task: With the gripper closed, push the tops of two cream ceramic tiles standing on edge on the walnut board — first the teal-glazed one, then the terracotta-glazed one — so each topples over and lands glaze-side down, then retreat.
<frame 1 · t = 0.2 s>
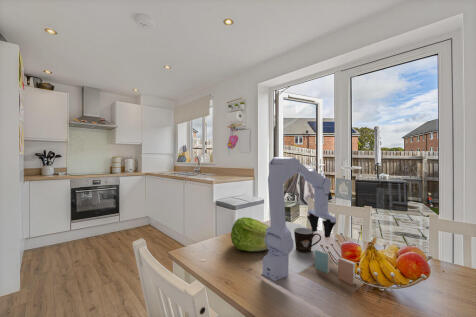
hand: (320, 234, 95), 10 cm above the table, fingers open, 7 cm apart
tile b: (346, 280, 75), point 1 cm above the table, touching board
lettuce: (256, 249, 104), on the table
tile a: (322, 270, 82), point 1 cm above the table, touching board
board: (334, 277, 79), on the table
coffee mug: (306, 253, 99), on the table
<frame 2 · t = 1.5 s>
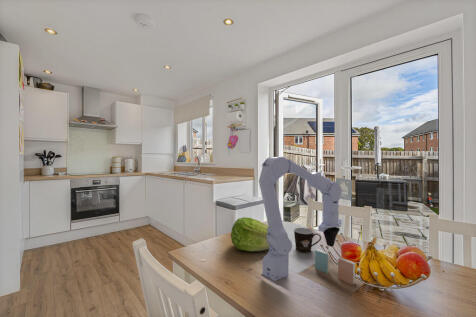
hand: (330, 245, 86), 9 cm above the table, fingers closed
nothing on the table moved.
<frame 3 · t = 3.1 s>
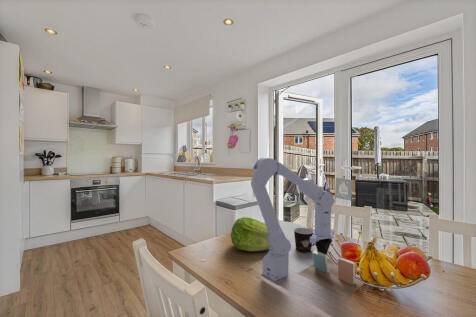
hand: (322, 257, 82), 6 cm above the table, fingers closed
tile a: (322, 269, 82), point 1 cm above the table, tilted 18°, touching board
everything else where it was.
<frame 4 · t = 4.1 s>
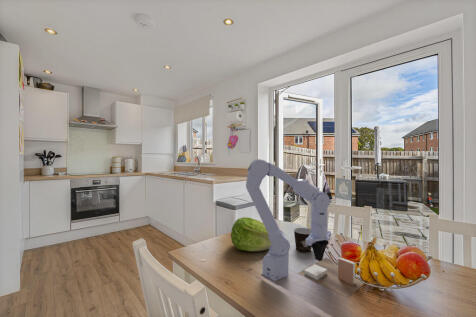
hand: (318, 259, 80), 6 cm above the table, fingers closed
tile a: (320, 268, 81), point 2 cm above the table, tilted 90°, touching board
everything else where it was.
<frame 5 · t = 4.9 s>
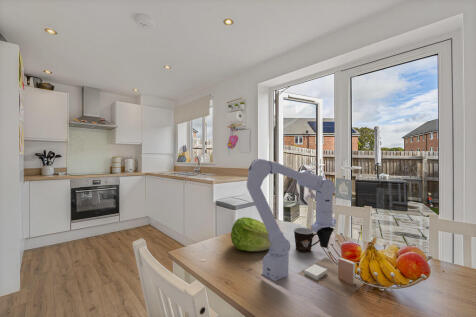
hand: (323, 246, 81), 10 cm above the table, fingers closed
nothing on the table moved.
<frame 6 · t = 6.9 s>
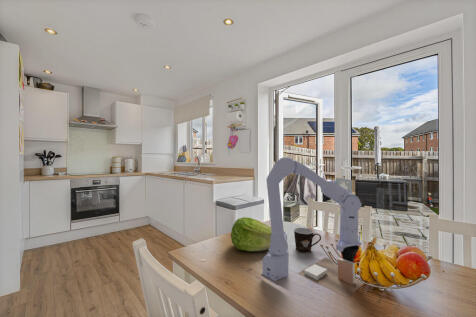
hand: (348, 265, 76), 6 cm above the table, fingers closed
tile b: (346, 280, 75), point 1 cm above the table, touching board, gripper
everything else where it was.
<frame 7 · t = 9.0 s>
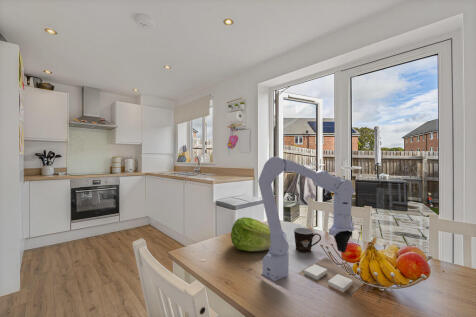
hand: (341, 251, 78), 10 cm above the table, fingers closed
tile b: (345, 279, 74), point 2 cm above the table, tilted 90°, touching board
everything else where it was.
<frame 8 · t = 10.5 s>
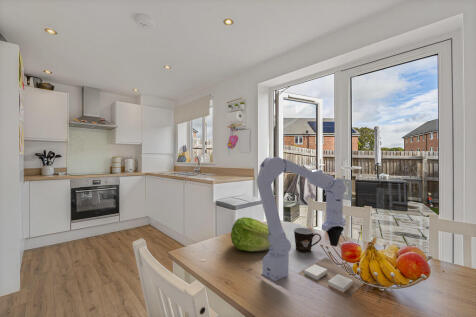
hand: (333, 245, 82), 10 cm above the table, fingers closed
nothing on the table moved.
at the end: tile a tilted 90°; tile b tilted 90°; tile b point 2.0 cm above the table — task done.
